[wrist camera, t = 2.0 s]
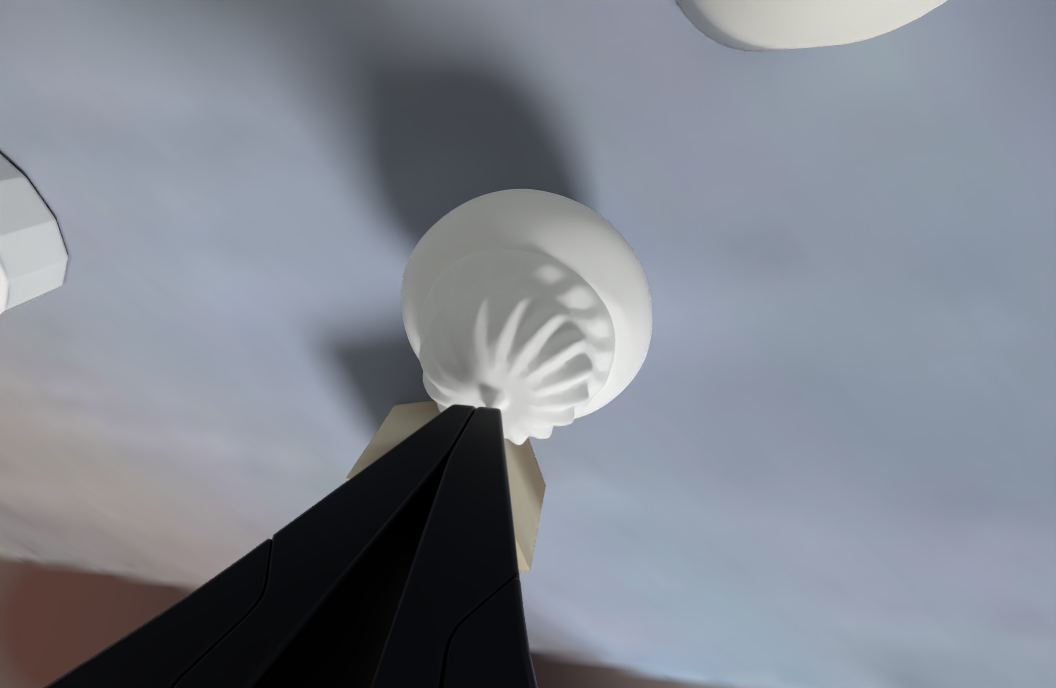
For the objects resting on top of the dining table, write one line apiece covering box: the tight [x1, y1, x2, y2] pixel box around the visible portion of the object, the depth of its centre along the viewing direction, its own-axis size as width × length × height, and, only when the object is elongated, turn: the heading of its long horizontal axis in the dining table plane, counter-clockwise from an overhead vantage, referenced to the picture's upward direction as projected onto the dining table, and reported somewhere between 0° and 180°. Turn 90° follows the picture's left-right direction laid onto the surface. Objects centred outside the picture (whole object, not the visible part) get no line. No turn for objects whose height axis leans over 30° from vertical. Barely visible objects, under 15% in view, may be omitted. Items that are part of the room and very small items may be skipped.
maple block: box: [346, 400, 546, 571], centre depth 17 cm, size 5×5×4 cm
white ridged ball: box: [401, 189, 652, 445], centre depth 11 cm, size 6×6×7 cm
